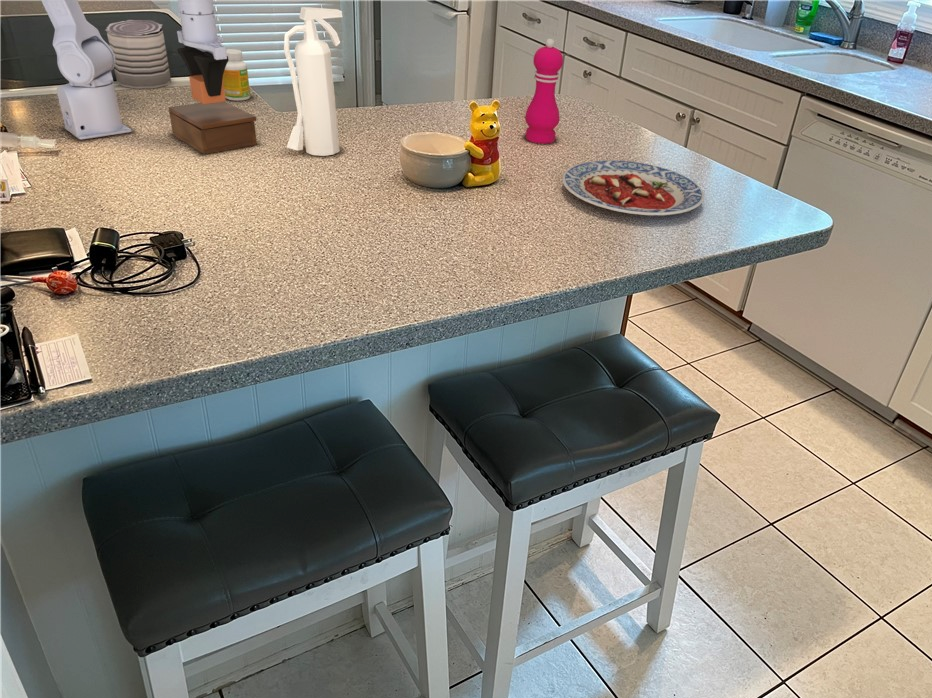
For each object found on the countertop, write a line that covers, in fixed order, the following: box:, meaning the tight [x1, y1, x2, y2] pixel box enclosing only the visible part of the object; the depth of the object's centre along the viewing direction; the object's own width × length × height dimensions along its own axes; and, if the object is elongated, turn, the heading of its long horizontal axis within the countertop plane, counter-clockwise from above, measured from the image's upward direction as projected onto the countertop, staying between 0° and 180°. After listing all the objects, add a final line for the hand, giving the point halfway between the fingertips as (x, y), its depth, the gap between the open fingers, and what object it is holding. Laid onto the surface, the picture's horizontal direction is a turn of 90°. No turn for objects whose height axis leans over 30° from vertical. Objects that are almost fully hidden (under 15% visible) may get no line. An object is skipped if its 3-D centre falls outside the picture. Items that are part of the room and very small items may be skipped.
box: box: [168, 111, 258, 155], centre depth 147 cm, size 13×11×4 cm
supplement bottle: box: [223, 48, 251, 102], centre depth 168 cm, size 5×5×10 cm
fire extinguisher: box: [283, 6, 343, 157], centre depth 140 cm, size 7×12×25 cm, turn 123°
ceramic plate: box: [561, 159, 705, 216], centre depth 140 cm, size 26×26×3 cm
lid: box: [168, 101, 257, 129], centre depth 145 cm, size 14×11×1 cm
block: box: [188, 75, 227, 104], centre depth 142 cm, size 4×4×4 cm
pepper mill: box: [524, 38, 564, 145], centre depth 159 cm, size 7×7×20 cm
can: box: [104, 19, 172, 90], centre depth 171 cm, size 11×11×12 cm
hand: (208, 92), depth 143 cm, fingers closed on block, 4 cm apart
